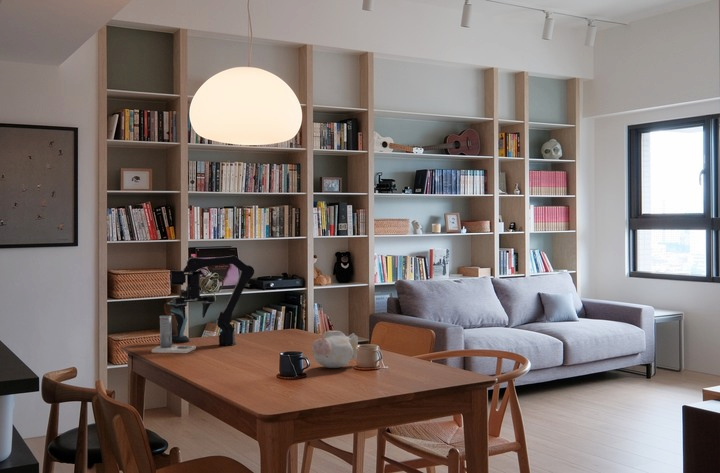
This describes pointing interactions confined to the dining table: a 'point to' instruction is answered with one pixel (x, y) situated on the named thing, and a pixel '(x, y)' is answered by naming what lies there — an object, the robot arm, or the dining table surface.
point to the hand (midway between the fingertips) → (193, 318)
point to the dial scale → (174, 349)
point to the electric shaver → (178, 323)
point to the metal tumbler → (165, 331)
